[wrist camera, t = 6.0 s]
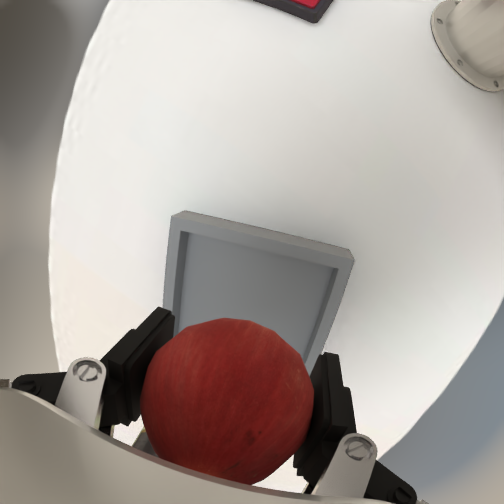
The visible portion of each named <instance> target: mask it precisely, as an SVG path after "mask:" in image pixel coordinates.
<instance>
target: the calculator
mask: <svg viewBox="0 0 504 504" xmlns="http://www.w3.org/2000/svg"><path fill="white" fill-rule="evenodd" d="M253 1H256V2H259V3H262V4H265V5H268V6H271V7H274V8H277V9H279V10H282V11H285V12H287V13H290V14H292V15H295V16H297V17H300V18H302V19H304V20H307V21H309V22H311V23H317V22H318V21H319V20H320V18H321V17H322V15H323V14H324V13H325V11H326V10H327V8H328V7H329V6H330V4H331V3H332V1H333V0H253Z"/></svg>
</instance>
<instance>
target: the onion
mask: <svg viewBox="0 0 504 504" xmlns="http://www.w3.org/2000/svg"><path fill="white" fill-rule="evenodd" d="M313 402H314V388H313V385H312V383H311V380H310V377H309V374H308V372H307V370H306V367H305V365H304V362H303V360H302V357H301V355H300V354H299V353H298V352H297V351H296V350H295V349H294V348H293V347H291V346H290V345H289V344H288V343H287V342H286V341H285V340H283V339H282V338H281V337H280V336H279V335H278V334H277V333H276V332H275V331H273V330H271V329H269V328H266V327H264V326H262V325H260V324H257V323H255V322H253V321H251V320H242V319H232V318H219V319H215V320H211V321H207V322H203V323H199V324H195V325H192V326H188V327H186V328H184V329H183V330H182V331H181V332H179V333H178V334H177V335H176V336H175V337H173V338H172V339H171V340H170V341H168V342H167V343H166V344H165V345H164V346H162V347H161V348H160V349H159V350H157V351H156V353H155V355H154V356H153V358H152V360H151V362H150V364H149V366H148V368H147V372H146V375H145V379H144V383H143V387H142V392H141V396H140V410H141V416H142V420H143V424H144V427H145V430H146V433H147V436H148V439H149V441H150V443H151V445H152V447H153V449H154V451H155V453H156V454H157V455H158V457H159V458H160V459H163V460H165V461H168V462H171V463H174V464H176V465H179V466H182V467H185V468H188V469H191V470H194V471H198V472H201V473H204V474H208V475H211V476H215V477H218V478H222V479H226V480H230V481H234V482H238V483H243V484H247V485H252V484H255V483H257V482H259V481H262V480H264V479H265V478H267V477H268V476H269V475H271V474H272V473H273V472H274V471H276V470H277V469H278V468H279V467H280V466H281V465H282V464H283V463H285V462H286V461H287V460H288V459H289V458H290V457H291V456H292V455H293V454H294V453H295V452H296V451H297V450H298V449H299V448H300V446H301V445H302V444H303V442H304V441H305V439H306V437H307V434H308V432H309V429H310V426H311V420H312V412H313Z"/></svg>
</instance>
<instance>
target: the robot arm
mask: <svg viewBox="0 0 504 504" xmlns="http://www.w3.org/2000/svg"><path fill="white" fill-rule="evenodd" d="M431 25H432V31H433V34H434V37H435V40H436V42H437V44H438V46H439V48H440V50H441V52H442V53H443V55H444V56H445V58H446V59H447V60H448V62H449V63H450V64H451V66H452V67H453V68H454V69H455V70H456V71H457V72H458V73H459V74H460V75H461V76H462V77H464V78H465V79H466V80H467V81H468V82H470V83H472V84H473V85H475V86H476V87H479V88H481V89H483V90H487V91H500V90H503V89H504V0H462V1H458V0H446V1H443V2H441V3H440V4H439V5H438V6H437V7H436V8H435V9H434V11H433V14H432V16H431ZM174 324H175V316H174V315H172V312H171V310H167V309H164V308H161V307H157V308H156V309H155V310H154V311H153V312H152V313H151V314H150V315H149V316H148V317H147V318H146V319H145V320H144V322H143V323H142V324H141V325H140V326H139V327H138V328H137V329H136V330H135V329H131V330H130V331H129V332H128V333H127V334H126V335H125V336H124V337H123V338H122V339H121V340H120V341H119V342H118V343H117V344H116V345H115V346H114V347H113V348H112V349H111V350H110V351H109V352H108V353H107V354H106V355H105V356H104V357H103V358H102V359H101V360H100V361H99V360H97V359H94V358H88V357H84V358H79V359H77V360H75V361H73V362H72V363H71V365H70V366H69V368H68V371H67V372H59V373H45V374H26V375H21V376H19V377H17V378H16V379H15V380H14V381H13V382H10V380H9V379H0V504H428V503H427V502H425V501H424V500H421V501H418V500H417V495H416V492H415V490H414V489H413V488H412V487H411V486H410V485H409V484H407V483H406V482H405V481H403V480H402V479H400V478H399V477H398V476H397V475H395V474H394V473H393V472H391V471H390V470H389V469H387V468H386V467H385V466H383V465H382V464H381V463H380V462H378V461H377V460H376V457H377V447H376V445H375V443H374V442H373V441H372V440H371V439H370V438H369V437H367V436H365V435H362V434H359V433H357V431H356V424H355V417H354V410H353V404H352V397H351V391H350V388H349V387H343V380H342V374H341V367H340V361H339V355H338V354H333V353H328V352H325V353H324V354H323V355H321V354H320V355H319V356H318V358H317V360H316V363H315V365H314V367H313V370H312V372H311V374H310V376H309V377H310V380H311V383H312V385H313V388H314V402H313V412H312V420H311V426H310V429H309V432H308V434H307V437H306V439H305V441H304V442H303V444H302V445H301V446H300V448H299V449H298V450H297V451H296V452H295V453H294V461H293V467H294V468H297V476H304V479H305V480H306V481H307V482H308V483H307V484H306V486H305V488H304V489H303V491H302V493H294V492H286V491H280V490H273V489H268V488H262V487H257V486H252V485H247V484H243V483H238V482H234V481H230V480H226V479H222V478H218V477H215V476H211V475H208V474H204V473H201V472H198V471H194V470H191V469H188V468H185V467H182V466H179V465H176V464H174V463H171V462H168V461H165V460H163V459H160V458H158V457H155V456H153V455H150V454H148V453H145V452H143V451H141V450H138V449H136V448H134V447H131V446H129V445H127V444H125V443H123V442H121V441H119V440H116V439H114V438H113V433H114V426H115V425H118V424H120V423H122V424H124V425H126V426H129V424H130V423H131V421H134V422H135V421H137V419H138V418H139V416H140V415H141V410H140V396H141V392H142V387H143V383H144V379H145V375H146V372H147V368H148V366H149V364H150V362H151V360H152V358H153V356H154V355H155V353H156V351H157V350H159V349H160V348H161V347H162V346H164V345H165V344H166V343H167V342H168V341H170V340H171V339H172V338H173V335H174Z"/></svg>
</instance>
